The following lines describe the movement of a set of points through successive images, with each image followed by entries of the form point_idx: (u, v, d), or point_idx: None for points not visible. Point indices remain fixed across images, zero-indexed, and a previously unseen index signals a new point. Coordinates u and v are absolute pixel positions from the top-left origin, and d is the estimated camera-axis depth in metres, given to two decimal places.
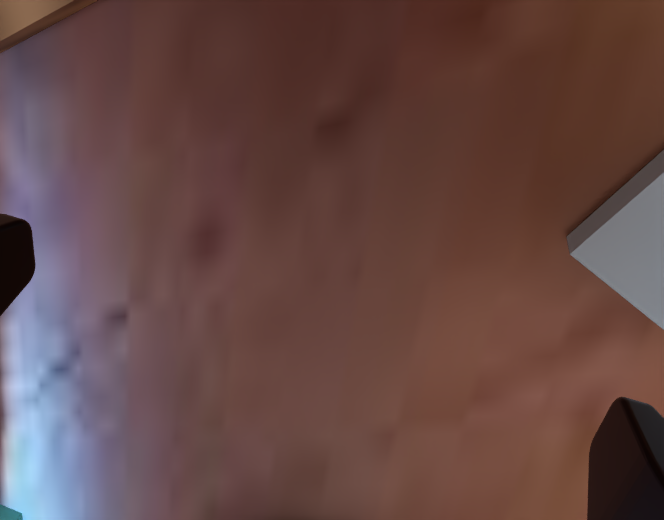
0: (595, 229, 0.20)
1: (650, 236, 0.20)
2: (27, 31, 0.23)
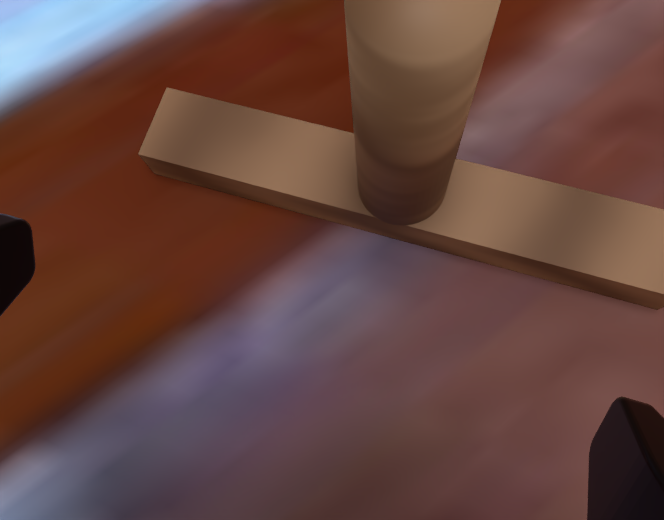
0: None
1: None
2: (439, 241, 0.22)
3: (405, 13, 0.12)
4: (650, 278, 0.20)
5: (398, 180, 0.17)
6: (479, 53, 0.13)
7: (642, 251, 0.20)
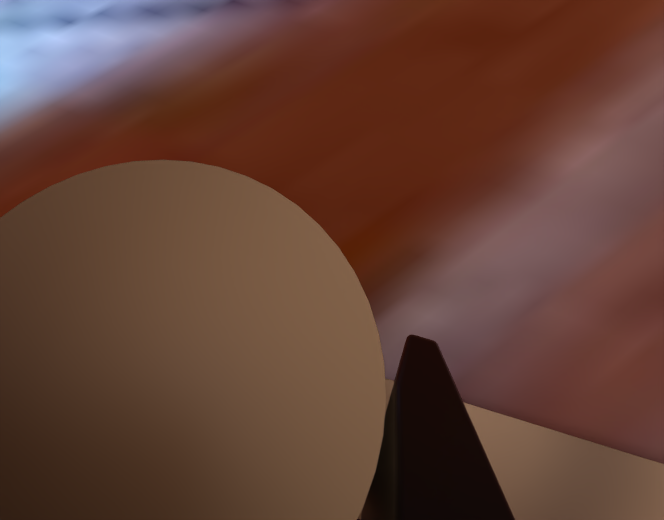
0: None
1: None
2: None
3: (62, 501, 0.04)
4: None
5: None
6: None
7: None
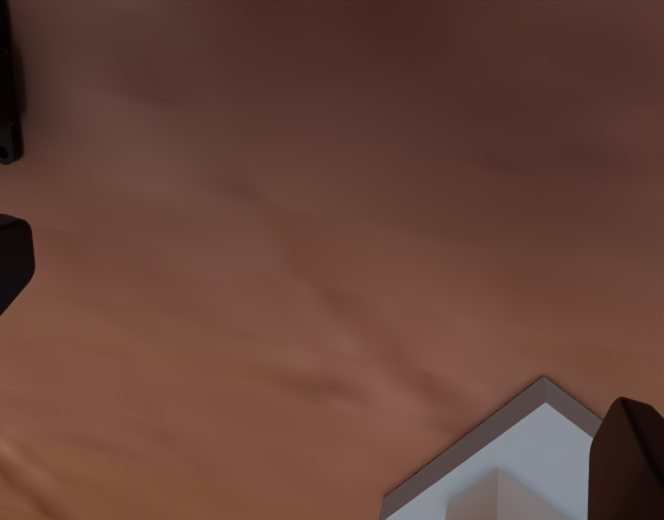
0: (570, 418, 0.21)
1: (563, 457, 0.22)
2: None
3: None
4: None
5: None
6: None
7: None
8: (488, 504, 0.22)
